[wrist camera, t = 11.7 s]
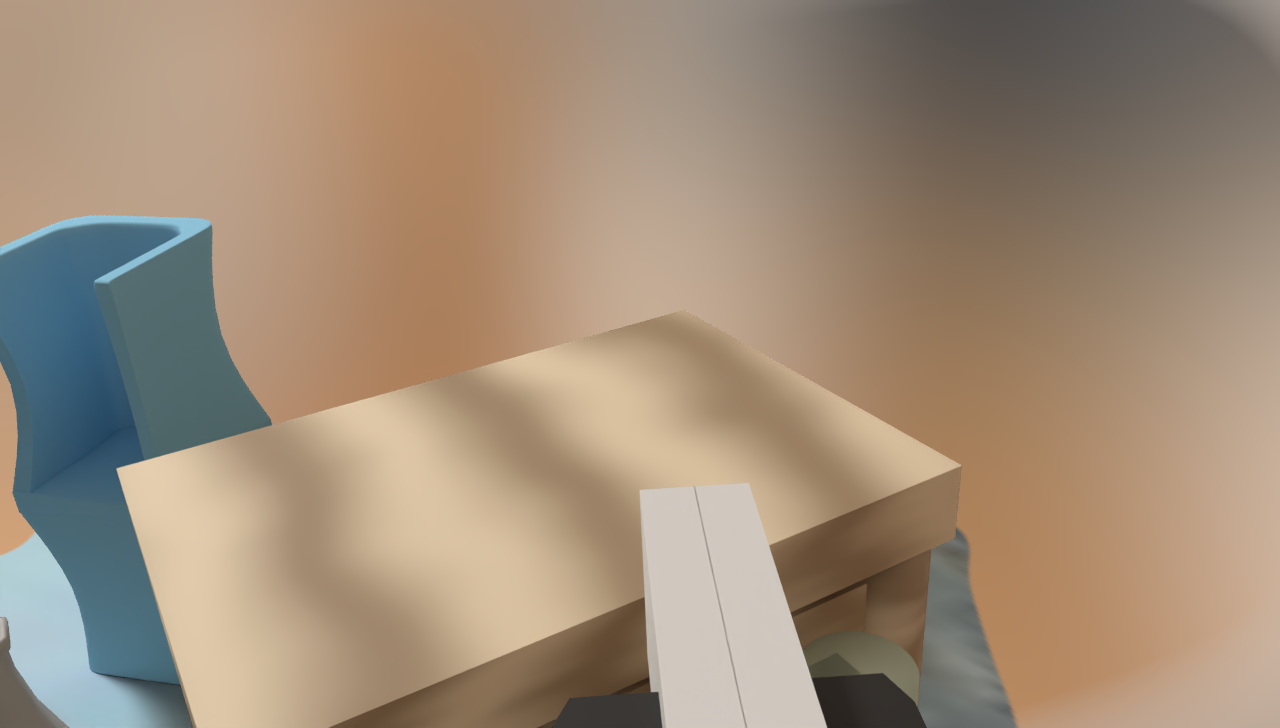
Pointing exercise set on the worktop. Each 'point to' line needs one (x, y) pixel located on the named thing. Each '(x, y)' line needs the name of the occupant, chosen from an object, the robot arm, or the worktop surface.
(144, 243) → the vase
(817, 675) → the pale green flat panel
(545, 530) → the stool
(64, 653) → the worktop surface
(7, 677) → the flask
